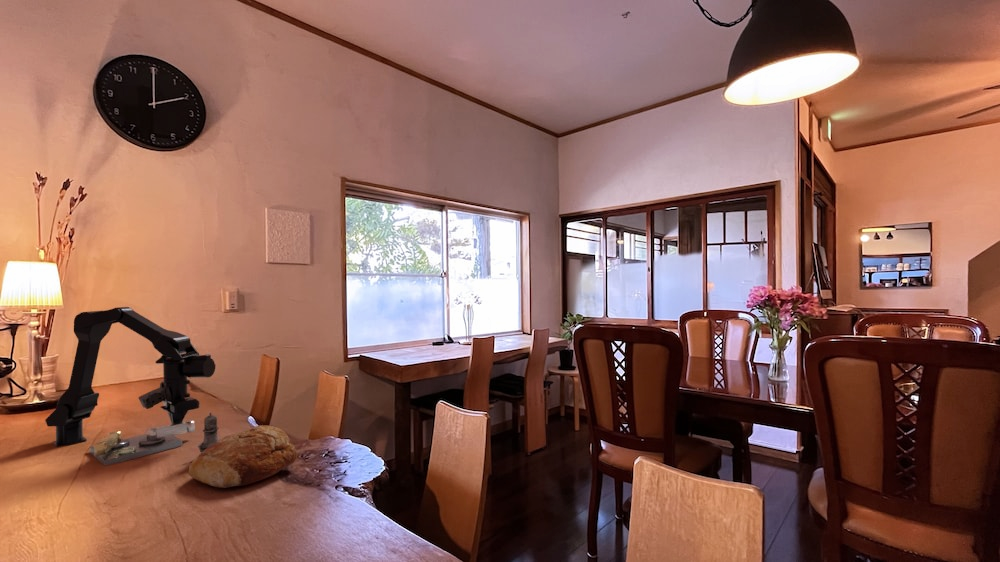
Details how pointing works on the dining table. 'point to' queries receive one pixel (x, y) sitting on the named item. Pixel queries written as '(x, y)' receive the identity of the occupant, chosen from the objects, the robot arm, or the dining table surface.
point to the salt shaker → (209, 432)
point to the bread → (244, 457)
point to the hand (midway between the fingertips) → (176, 429)
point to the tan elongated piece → (110, 443)
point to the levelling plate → (136, 449)
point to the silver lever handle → (166, 432)
